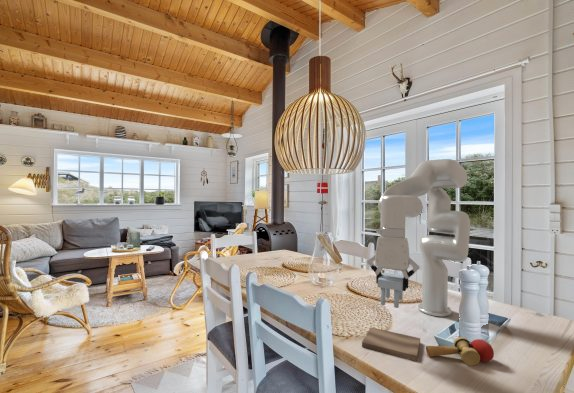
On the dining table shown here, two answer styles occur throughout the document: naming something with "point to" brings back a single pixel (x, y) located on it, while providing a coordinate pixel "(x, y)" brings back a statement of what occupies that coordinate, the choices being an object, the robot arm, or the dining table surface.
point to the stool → (391, 287)
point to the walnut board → (392, 343)
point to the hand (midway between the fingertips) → (391, 287)
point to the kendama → (465, 350)
